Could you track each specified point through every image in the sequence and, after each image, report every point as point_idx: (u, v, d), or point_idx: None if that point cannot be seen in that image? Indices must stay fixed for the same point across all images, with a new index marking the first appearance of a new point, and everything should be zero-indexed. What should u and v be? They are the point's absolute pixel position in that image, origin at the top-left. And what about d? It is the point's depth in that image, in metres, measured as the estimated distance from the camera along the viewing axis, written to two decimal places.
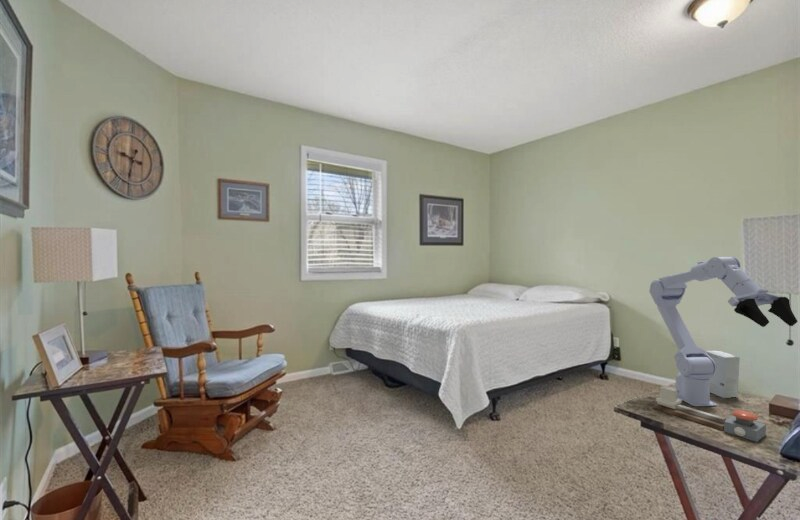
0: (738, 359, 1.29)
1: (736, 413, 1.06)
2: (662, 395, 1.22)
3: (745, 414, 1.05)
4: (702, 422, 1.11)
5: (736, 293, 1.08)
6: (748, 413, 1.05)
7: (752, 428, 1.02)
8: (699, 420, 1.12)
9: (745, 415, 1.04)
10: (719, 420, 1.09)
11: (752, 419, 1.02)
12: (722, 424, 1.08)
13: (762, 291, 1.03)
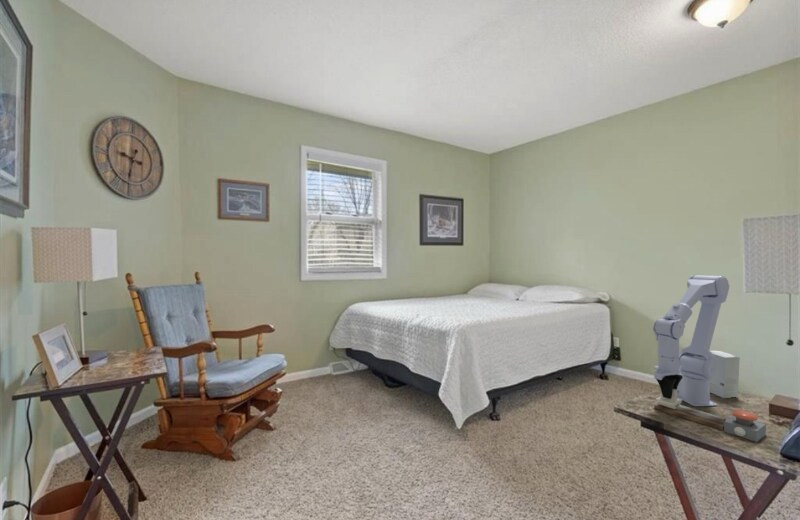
0: (738, 359, 1.29)
1: (736, 413, 1.06)
2: (662, 395, 1.22)
3: (745, 414, 1.05)
4: (702, 422, 1.11)
5: None
6: (748, 413, 1.05)
7: (752, 428, 1.02)
8: (699, 420, 1.12)
9: (745, 415, 1.04)
10: (719, 420, 1.09)
11: (752, 419, 1.02)
12: (722, 424, 1.08)
13: None
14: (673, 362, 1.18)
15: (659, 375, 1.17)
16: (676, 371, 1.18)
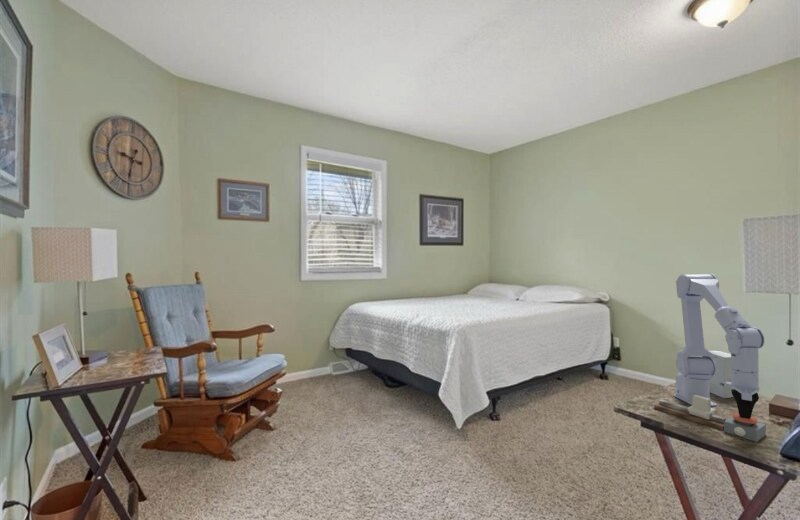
0: None
1: (736, 416, 1.06)
2: (694, 404, 1.15)
3: None
4: (702, 422, 1.11)
5: None
6: None
7: (752, 428, 1.02)
8: (699, 420, 1.12)
9: (745, 418, 1.04)
10: (719, 420, 1.09)
11: (752, 422, 1.03)
12: (722, 424, 1.08)
13: None
14: (755, 377, 1.02)
15: (750, 395, 0.99)
16: (758, 387, 1.02)
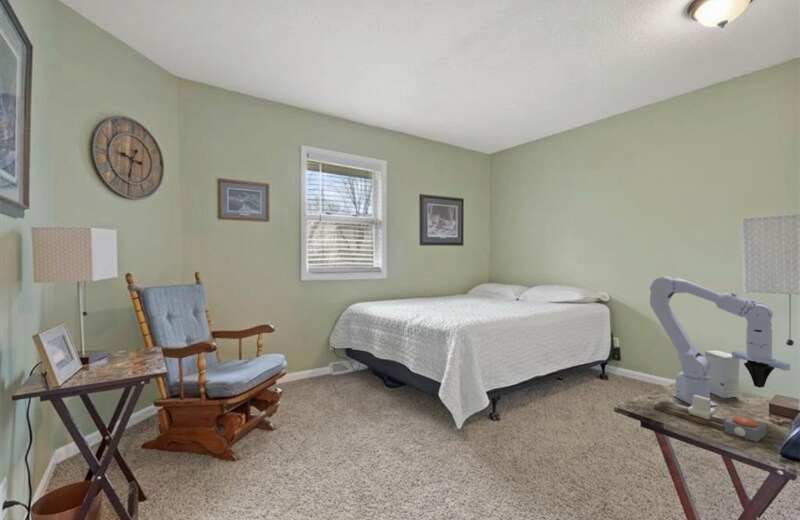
0: (738, 359, 1.29)
1: (736, 419, 1.06)
2: (694, 404, 1.15)
3: (745, 420, 1.05)
4: (702, 422, 1.11)
5: None
6: (748, 419, 1.05)
7: (752, 428, 1.02)
8: (699, 420, 1.12)
9: (745, 421, 1.04)
10: (719, 420, 1.09)
11: (752, 425, 1.03)
12: (722, 424, 1.08)
13: None
14: None
15: (789, 365, 1.08)
16: None
